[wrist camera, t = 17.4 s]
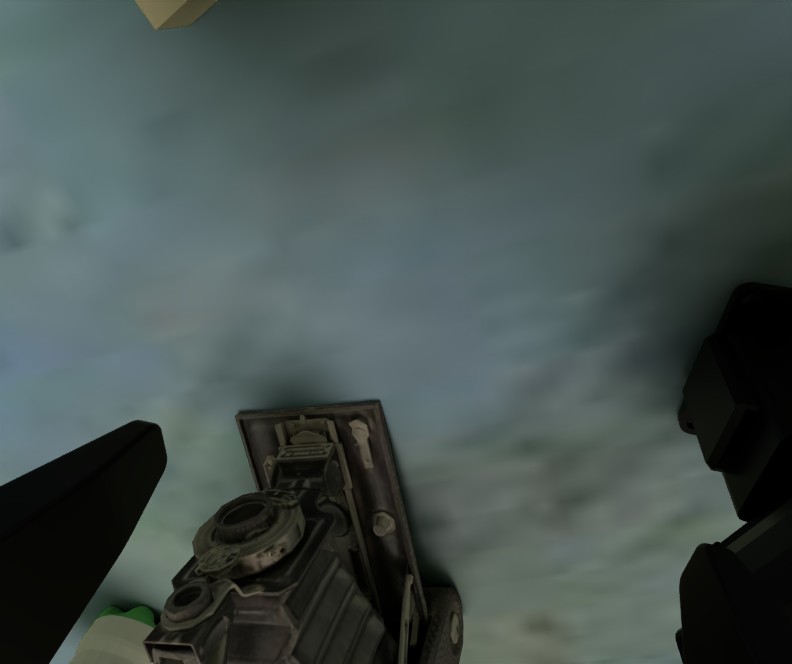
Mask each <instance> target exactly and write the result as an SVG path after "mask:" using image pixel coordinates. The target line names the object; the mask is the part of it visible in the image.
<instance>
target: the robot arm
mask: <svg viewBox="0 0 792 664" xmlns="http://www.w3.org/2000/svg"><path fill="white" fill-rule="evenodd" d="M750 294H756V298H755V299H754V300H752V301H750V302H744V301H743V300H744V298H745V297H746V296H748V295H750ZM683 396H684V399H685V401H684V403H683V406H682V408H681V410H680V412H679V415H678V422H679V425H680V428H681V429H682V430H683V431H684V432H686V433H689V434H693V435H697V438H698V441H699V444H700V447H701V450H702V453H703V456H704V459H705V462H706V464H707V465H708V466H709V468H710V469H711V470H713V471H718V472H722V474H723V477H724V479H725V482H726V485H727V488H728V491H729V493H730V496H731V499H732V502H733V505H734V507H735V510H736V513H737V516H738V517H739V519H740V520H743V521H745V522H747V523H746V524H745V525H743V526H742V527H741V528H739V529H738V530H737V531H735V532H734V533H733V534H731V535H730V536H729V537H728V538H726V539H725V540H724V541H722V542H721V543H720V542H715V543H714V544H707V543H702V544H700V545H698V547H697V548H696V549H695V551H694V553H693V555H692V557H691V558H690V560H689V562H688V564H687V566H686V567H685V569H684V571H683V573H682V575H681V578H680V584H679V593H680V608H681V623H682V628H681V629H679V630H678V631H677V632H676V634H675V635H676V642H677V646H678V649H679V652H680V655H681V659H682V662H683V664H792V288H788V287H781V286H775V285H768V284H761V283H755V282H748V283H745V284H741V285H740V286H738V287H737V288H736V289H735V290H734V292H733V293H732V295H731V298H730V300H729V302H728V304H727V307H726V309H725V311H724V313H723V316H722V318H721V320H720V322H719V325H718V327H717V329H716V331H715V334H712V335H710V336H709V337H707V338H706V339H705V340H704V342H703V345H702V347H701V349H700V351H699V354H698V356H697V358H696V361H695V363H694V365H693V367H692V370H691V372H690V374H689V377H688V379H687V381H686V384H685V386H684V388H683ZM689 420H692V423H689V422H688V421H689ZM166 464H167V454H166V449H165V444H164V440H163V435H162V431H161V428H160V427H159V425H158V424H156V423H151V422H147V421H142V420H135V421H132V422H130V423H128V424H126V425H123V426H121V427H119V428H117V429H115V430H113V431H111V432H109V433H107V434H105V435H103V436H101V437H99V438H97V439H95V440H93V441H91V442H89V443H87V444H85V445H83V446H81V447H79V448H77V449H75V450H73V451H71V452H69V453H67V454H65V455H63V456H61V457H59V458H57V459H55V460H53V461H51V462H48V463H46V464H44V465H42V466H40V467H38V468H36V469H34V470H32V471H30V472H28V473H26V474H24V475H22V476H20V477H18V478H16V479H14V480H12V481H10V482H8V483H6V484H4V485H2V486H0V664H49V663H50V661H51V660H52V658H53V657H54V655H55V654H56V652H57V650H58V649H59V647H60V646H61V644H62V643H63V641H64V640H65V638H66V637H67V635H68V634H69V632H70V631H71V629H72V627H73V626H74V624H75V623H76V621H77V620H78V618H79V617H80V615H81V614H82V612H83V611H84V609H85V608H86V606H87V604H88V603H89V601H90V600H91V598H92V597H93V595H94V594H95V592H96V591H97V589H98V588H99V586H100V585H101V583H102V581H103V580H104V578H105V577H106V575H107V574H108V572H109V571H110V569H111V568H112V566H113V565H114V563H115V562H116V560H117V558H118V557H119V555H120V554H121V552H122V550H123V549H124V547H125V545H126V543H127V542H128V540H129V538H130V536H131V534H132V533H133V531H134V529H135V527H136V525H137V523H138V521H139V519H140V517H141V515H142V513H143V511H144V509H145V507H146V505H147V503H148V502H149V500H150V498H151V496H152V494H153V492H154V490H155V488H156V486H157V484H158V482H159V480H160V478H161V476H162V474H163V473H164V470H165V468H166Z"/></svg>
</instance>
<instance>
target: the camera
mask: <svg viewBox="0 0 792 664" xmlns="http://www.w3.org/2000/svg"><path fill="white" fill-rule="evenodd" d="M235 418H236V422H237V425H238V428H239V431H240V435H241V438H242V441H243V445H244V448H245V451H246V454H247V458H248V461H249V464H250V467H251V471H252V474H253V477H254V481H255V484H256V487H257V490H258V492H255V493H249V494H245V495H242V496H240V497H238V498H236V499H234V500H232V501H230V502H228V503H227V504H225V505H223V506H221V508H220V509H219V510H218V511H217V513H216V514H214V515H213V516H212V517H211V518H210V519H209V520H208V521H207V522H206V523H204V524H203V525H202V526H201V527H200V528H199V530H198V532H197V534H196V536H195V538H194V540H193V542H192V544H193V550H194V556H193V557H192V558H191V559H190V560H189V561H188V562H187V563H186V565H185V566H184V567H183V568H182V569H181V570H180V571H179V572H178V574H177V575H176V576H175V577H174V578H173V579H172V580H171V581H172V585H173V589H174V592H173V593H172V594H171V595H170V596H169V597H168V599H167V601H166V604H165V606H164V611H163V612H162V614H161V616H160V617H161V621H160V622H159V623H158V624H157V626H156V627H155V628H154V629H153V630H152V632H151V633H150V634H149V635H148V636H147V637H146V639H145V640H144V641H143V642H142V643H143V646H144V648H145V651H146V653H147V656H148V658H149V661H150V663H154V664H459V661H460V656H461V651H462V646H463V616H462V607H461V601H460V598H459V596H458V593H457V592H456V591H455V590H454V589H453V588H441V587H422V584H421V580H420V575H419V571H418V567H417V562H416V558H415V553H414V549H413V544H412V540H411V536H410V531H409V527H408V522H407V518H406V514H405V509H404V505H403V500H402V496H401V491H400V487H399V483H398V478H397V474H396V469H395V465H394V460H393V456H392V452H391V447H390V443H389V438H388V434H387V430H386V425H385V421H384V416H383V412H382V407H381V403H380V401H378V402H366V403H354V404H341V405H329V406H317V407H304V408H293V409H281V410H269V411H257V412H245V413H238V414H237V415H235Z"/></svg>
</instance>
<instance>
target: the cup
mask: <svg viewBox="0 0 792 664" xmlns="http://www.w3.org/2000/svg"><path fill="white" fill-rule="evenodd" d="M155 627H156V625H155V623H154V614H153V612H152V611H151V610H150V609H149V608H148V607H146V606H139V607H136V608H133V609H131V610H130V611H128V612H126V613H124V612H123V611H122V610H121V609H119V608H117V607H113V606H109V607H108V608H106V609H105V610H104V611H103V612H102V613H101V614H100V615H99V616H98V618H97V619H96V620H95V622H94V623H93V624H92V626H91V627H90V629H89V630H88V631H87V633H86V634H85V636H84V637H83V639H82V640H81V642H80V644H79V646H78V648H77V651H76V654H75V656H74V658H73V659H72V660H71V662H70V663H69V664H154V663H150V661H149V658H148V656H147V653H146V651H145V648H144V646H143V643H142V642H143V641H144V640H145V639H146V637H147V636H148V635H149V634H150V633H151V632H152V630H153V629H154V628H155Z"/></svg>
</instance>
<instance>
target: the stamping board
mask: <svg viewBox="0 0 792 664" xmlns="http://www.w3.org/2000/svg"><path fill="white" fill-rule="evenodd" d="M135 1H136V3H137V4H138V6H139V7H140V9H141V10H142V12H143V13H144V14H145V16H146V17H147V19H148V20H149V22H150V23H151V25H152V26H153V27H154V29H155V30H161V29H169V28H177V27H185V26H190V25H191V24H193V23H194V22H195V21H196V20H197V19H198V18H199V17H200V16H201V15H203V14H204V13H205V12H206V11H207V10H208V9H209V8H210V7H212V6H213V5H214V4H215V3H216V2H217V1H218V0H135Z"/></svg>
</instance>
